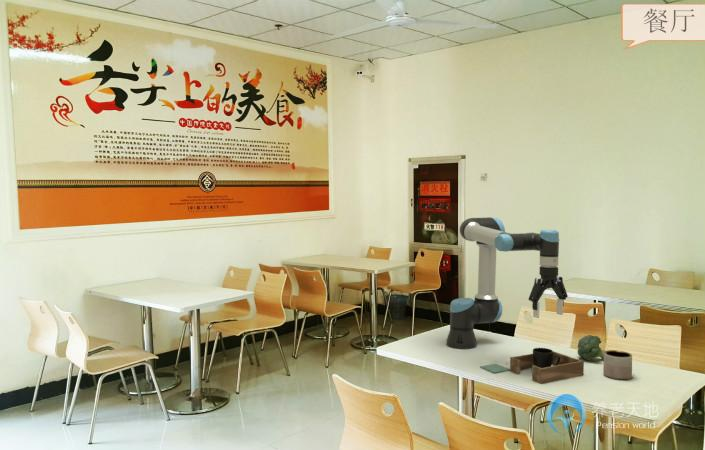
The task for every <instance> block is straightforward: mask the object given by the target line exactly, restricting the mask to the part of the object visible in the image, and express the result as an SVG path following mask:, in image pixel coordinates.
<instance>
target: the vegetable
mask: <svg viewBox="0 0 705 450" xmlns="http://www.w3.org/2000/svg"><path fill="white" fill-rule="evenodd" d="M577 343H578V344H577V348H578V349H577V355H578V356H579V357H580V358H582V359H584V360H586V362H587V361H590V360H591V359H593V358H594V359H595V358H601V359H602V360H604V352H605V351H606V350H605V349H602V348H601V347H600V344H601V343H602V339H601V337H599V335H591V334H587V335H584V336H583V337H581V338H580V339H579V340H578V342H577Z"/></svg>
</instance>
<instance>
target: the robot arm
mask: <svg viewBox="0 0 705 450" xmlns="http://www.w3.org/2000/svg"><path fill="white" fill-rule="evenodd" d="M459 234H460V236H461V238H463V240H466V241H468V242H476V243H475V244H476V245H477V246H478V273H477V275H478V277H477V293H476V294H475V295H474V299H473V298H471V297H459V298H455V299H453V300H451V302H450V305H449V306H450V307H449V331H448V334H447V338H446V340H445V342H446V345H447V346H448V347H450V348H453V349H454V348H455V349H461V350H464V349H465V350H467V349H473V348H477V346H478V343H477V338H476V335H475V332H474V331H475V330H474V325H476V324H491V323H495V322H498V321H499V320H500V319H501V317H502V314H503V305H502V301H500V300H499V299H498V298H499V296H497V295H496V276H497V275H496V273H497V270H496V269H497V251H499V252H517V251H518V252H519V251H521V252H522V251H539V265H540V266H539V273H538V274H539V276H540V278H537V277H535V278H534V281H533V286H532V289H531V292H530V293H529V297H528V301H530V302H531V303H532V304H531V305H532V317H533V318H537V319H540V306H541V305H540V302H539V301H540V299H541V298H542V296H543V294H544V292H545V291H546V290H547V289H548V290H549V289H552V290H553V292H554V293H555V295H556V297H557V298H556V314H557V315H560V316H563V314H564V305H565V303H564V301H565V300H567V298H568V296H569V295H568V293H567V290H566V287H565V284H564V281H563V277H562V276H559V252H560V251H559V250H560V249H559V248H560V247H559V246H560V243H559V242H560V238H559V237H560V236H559V235H560V232H559V231H558V230H556V229H541V230H540V232H539V233H536V232H525V233H510V232H506V228H505V226H504V224H503V221H502V220H501V219H500V218H498V217H492V216H491V217H470V218H467V219H465V220H464V221H462V223H461V224H460V226H459Z"/></svg>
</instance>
